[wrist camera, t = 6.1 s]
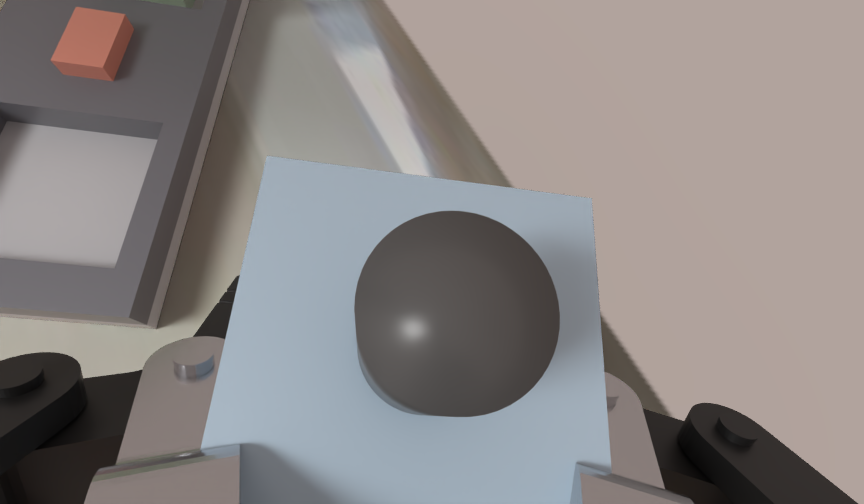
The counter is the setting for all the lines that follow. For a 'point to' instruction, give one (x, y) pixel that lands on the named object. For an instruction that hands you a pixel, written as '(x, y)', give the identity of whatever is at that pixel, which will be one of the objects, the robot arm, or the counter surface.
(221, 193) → the counter surface
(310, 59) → the counter surface
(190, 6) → the green knobbed block
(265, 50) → the counter surface
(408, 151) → the counter surface
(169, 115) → the grey rimmed tray
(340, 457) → the plug
